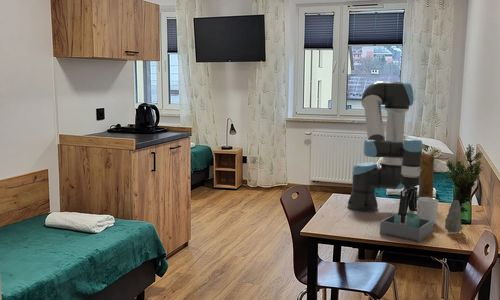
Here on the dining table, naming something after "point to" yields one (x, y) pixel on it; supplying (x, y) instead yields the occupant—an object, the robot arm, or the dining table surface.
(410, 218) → the block
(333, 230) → the dining table surface
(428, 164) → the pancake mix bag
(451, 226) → the stone tool
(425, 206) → the mug
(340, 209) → the dining table surface
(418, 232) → the grey crate
